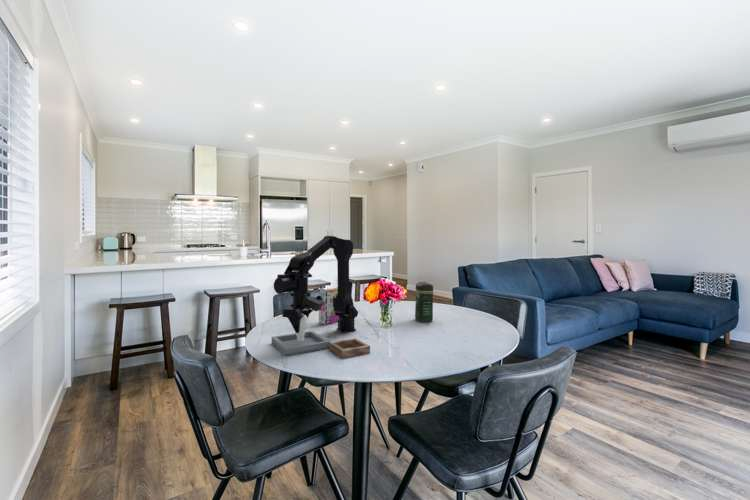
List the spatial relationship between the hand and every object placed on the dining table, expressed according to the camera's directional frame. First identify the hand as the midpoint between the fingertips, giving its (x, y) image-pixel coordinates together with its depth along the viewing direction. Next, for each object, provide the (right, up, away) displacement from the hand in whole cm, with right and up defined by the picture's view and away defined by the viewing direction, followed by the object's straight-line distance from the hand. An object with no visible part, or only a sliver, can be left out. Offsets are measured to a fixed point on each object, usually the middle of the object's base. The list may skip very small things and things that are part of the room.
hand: (300, 330), depth 144 cm
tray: (0, -6, 0) cm, 6 cm away
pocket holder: (+19, -6, -6) cm, 21 cm away
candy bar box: (+7, -4, +36) cm, 36 cm away
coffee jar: (+52, -4, +41) cm, 66 cm away
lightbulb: (0, -5, 0) cm, 5 cm away
